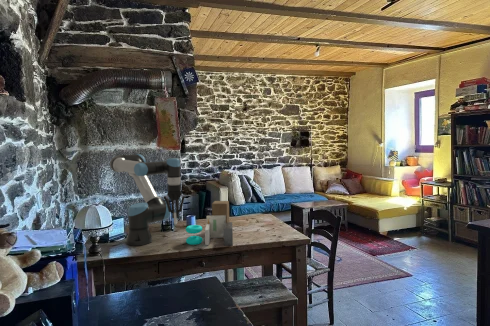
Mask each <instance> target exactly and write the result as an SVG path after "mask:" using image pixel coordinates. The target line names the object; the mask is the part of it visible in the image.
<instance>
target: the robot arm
mask: <svg viewBox="0 0 490 326" xmlns="http://www.w3.org/2000/svg"><path fill="white" fill-rule="evenodd" d="M180 163H181V161H180V158H177V157H173V158H171V157H170V158H167V159H166V161H164V160H159V161H152V162H147V161H146V158H145V157H144V155H142V154H140V153H133V154H118V155H116V156H114V157H112V158H111V160H110V162H109V167H110V169H111V170H112V171H113V172H115V173H127V174H128V176H130V177H132V179H133V180H134V182H135V185H136V186H137V189H138V190H139V192H140V194H141V197H142V198H143V200H144V202H139V203H138V202H137V203H133V204H131V205H130V206H129V207H128V209H127V217H128V221H127V222H128V233H127V237H126V239H125V240H126V243H125V244H126V245H128V246H143V245H144V246H145V245H148V244H150V243H152V242H153V235H152V233H151V230H150V226H149V224H152V223H156V222H160V221H161V222H163V221H166V220H168V219H169V217H170V214H171V218H172V219H173V223H174V225H177V224H178V219H179V217H180V212H182V211H183V205H184V201H185V198H186V195H185V194H183V193H182V187H181V164H180ZM165 174H166V175H167V193H166V195H164V196H163V198H162V197H161V196H158V194H157V192H156V190H155V188H154V186H153V185H152V182H151V181H150V178H149V176H151V175H152V176H154V175H165ZM180 198H181V199H180ZM163 199H164V200H163ZM169 199H170V201H171V202H169ZM179 199H180V205H179ZM170 203H171V205H170Z"/></svg>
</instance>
